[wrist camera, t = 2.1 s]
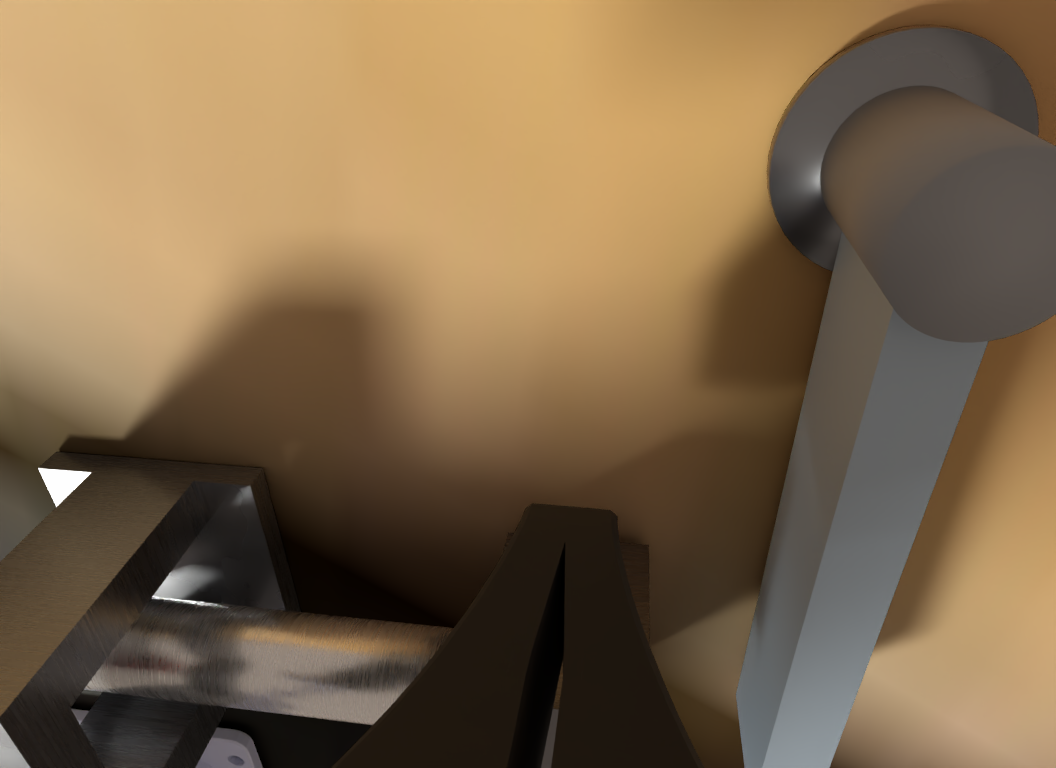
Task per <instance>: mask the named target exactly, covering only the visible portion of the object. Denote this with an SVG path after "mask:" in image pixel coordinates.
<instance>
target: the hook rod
mask: <svg viewBox="0 0 1056 768" xmlns="http://www.w3.org/2000/svg"><path fill="white" fill-rule="evenodd" d="M513 535H514V533H508V534H507V538H506V543H505V547H504V551H505V550H506V548H507V546H508V544H509V542H510V541H511V539H512V537H513ZM620 548H621V552H622V557H623V562H624V566H625V570H626V574H627V578H628V582H629V585H630V589H631V592H632V596H633V599H634V602H635V605H636V608H637V611H638V614H639V617H640V620H641V623H642V626H643V629H644V632H645V635H646V638H647V641H648V643H649V545H641V544H630V543H620ZM503 553H504V552H503ZM453 629H454V628H447V627H438V626H428V625H419V624H409V623H400V622H390V621H381V620H371V619H362V618H352V617H343V616H333V615H324V614H314V613H305V612H295V611H286V610H276V609H267V608H257V607H248V606H238V605H229V604H219V603H210V602H200V601H191V600H181V599H172V598H162V597H152V598H151V599H150V601H149V602H148V603H147V605H146V606H145V607H144V609H143V610H142V611H141V613H140V614H139V616H138V617H137V618H136V620H135V621H134V622H133V624H132V625H131V626H130V628H129V629H128V630H127V632H126V633H125V634H124V636H123V637H122V639H121V640H120V641H119V643H118V644H117V645H116V647H115V648H114V649H113V651H112V652H111V653H110V655H109V656H108V657H107V659H106V660H105V662H104V663H103V664H102V666H101V667H100V668H99V670H98V671H97V672H96V674H95V675H94V676H93V678H92V679H91V680H90V682H89V683H88V685H87V686H86V687H85V689H84V690H93V691H101V692H109V693H117V694H125V695H133V696H141V697H149V698H157V699H165V700H173V701H181V702H189V703H198V704H206V705H214V706H222V707H230V708H238V709H246V710H254V711H262V712H270V713H278V714H286V715H294V716H303V717H311V718H319V719H327V720H335V721H343V722H351V723H359V724H367V725H373V724H374V723H375V722H376V721H377V720H378V719H379V718H380V717H381V716H382V715H383V714H384V713H385V712H386V711H387V710H388V708H389V707H390V706H391V705H392V704H393V703H394V702H395V701H396V699H397V698H398V697H399V696H400V695H401V694H402V693H403V691H404V690H405V689H406V688H407V687H408V686H409V685H410V683H411V682H412V681H413V680H414V679H415V677H416V676H417V675H418V674H419V673H420V672H421V670H422V669H423V668H424V667H425V665H426V664H427V663H428V662H429V660H430V659H431V658H432V657H433V655H434V654H435V653H436V652H437V650H438V649H439V648H440V646H441V645H442V644H443V642H444V641H445V640H446V638H447V637H448V635H449V634H450V633H451V631H452V630H453ZM562 680H563V661H562V666H561V671H560V676H559V681H558V686H557V691H556V696H555V701H554V706H553V711H552V716H551V721H550V726H549V731H548V736H547V741H546V746H545V751H544V756H543V761H542V765H541V768H551V764H552V757H553V749H554V742H555V734H556V727H557V719H558V711H559V703H560V696H561V688H562Z"/></svg>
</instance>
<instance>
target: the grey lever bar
mask: <svg viewBox="0 0 1056 768" xmlns="http://www.w3.org/2000/svg"><path fill="white" fill-rule="evenodd" d="M820 186H821V193H822V196H823V200H824V202H825V205H826V207H827V209H828V210H829V212H830V213H831V215H832V216H833V218H834V220H835V221H836V223H837V224H838V226H839V227H840V229H841V230H842V234H841V238H840V242H839V247H838V251H837V256H836V260H835V264H834V269H833V273H832V277H831V282H830V286H829V291H828V295H827V299H826V304H825V308H824V312H823V317H822V321H821V325H820V330H819V334H818V339H817V343H816V347H815V352H814V356H813V360H812V365H811V369H810V374H809V378H808V382H807V387H806V391H805V395H804V400H803V404H802V408H801V413H800V417H799V422H798V426H797V430H796V435H795V439H794V443H793V448H792V452H791V456H790V461H789V465H788V470H787V474H786V478H785V483H784V487H783V491H782V496H781V500H780V505H779V509H778V513H777V518H776V522H775V526H774V531H773V535H772V539H771V544H770V548H769V553H768V557H767V561H766V566H765V570H764V574H763V579H762V583H761V588H760V592H759V596H758V601H757V605H756V609H755V614H754V618H753V622H752V627H751V631H750V636H749V640H748V644H747V649H746V653H745V657H744V662H743V666H742V671H741V675H740V679H739V684H738V688H737V692H736V699H737V707H738V715H739V724H740V732H741V740H742V749H743V757H744V765H745V768H829V767H830V764H831V762H832V759H833V756H834V754H835V751H836V748H837V746H838V743H839V740H840V738H841V735H842V732H843V730H844V727H845V724H846V721H847V719H848V716H849V713H850V711H851V708H852V705H853V703H854V700H855V697H856V695H857V692H858V689H859V687H860V684H861V681H862V679H863V676H864V673H865V671H866V668H867V665H868V663H869V660H870V657H871V655H872V652H873V649H874V647H875V644H876V641H877V638H878V636H879V633H880V630H881V628H882V625H883V622H884V620H885V617H886V614H887V612H888V609H889V606H890V604H891V601H892V598H893V596H894V593H895V590H896V588H897V585H898V582H899V580H900V577H901V574H902V572H903V569H904V566H905V564H906V561H907V558H908V556H909V553H910V550H911V547H912V545H913V542H914V539H915V537H916V534H917V531H918V529H919V526H920V523H921V521H922V518H923V515H924V513H925V510H926V507H927V505H928V502H929V499H930V497H931V494H932V491H933V489H934V486H935V483H936V481H937V478H938V475H939V473H940V470H941V467H942V464H943V462H944V459H945V456H946V454H947V451H948V448H949V446H950V443H951V440H952V438H953V435H954V432H955V430H956V427H957V424H958V422H959V419H960V416H961V414H962V411H963V408H964V406H965V403H966V400H967V398H968V395H969V392H970V390H971V387H972V384H973V382H974V379H975V376H976V373H977V371H978V368H979V365H980V363H981V360H982V357H983V355H984V352H985V349H986V347H987V344H988V341H992V340H996V339H1001V338H1005V337H1008V336H1012V335H1015V334H1018V333H1020V332H1023V331H1025V330H1028V329H1030V328H1032V327H1034V326H1036V325H1038V324H1040V323H1042V322H1044V321H1046V320H1047V319H1049V318H1050V317H1052V316H1053V315H1055V314H1056V146H1054V145H1053V144H1051V143H1049V142H1047V141H1045V140H1043V139H1041V138H1039V137H1037V136H1035V135H1033V134H1031V133H1030V132H1028V131H1026V130H1024V129H1022V128H1020V127H1018V126H1016V125H1014V124H1012V123H1010V122H1008V121H1007V120H1005V119H1003V118H1001V117H999V116H997V115H995V114H993V113H991V112H989V111H987V110H986V109H984V108H982V107H980V106H978V105H976V104H974V103H972V102H970V101H968V100H966V99H964V98H963V97H961V96H959V95H957V94H955V93H953V92H951V91H948V90H945V89H943V88H938V87H934V86H923V85H920V86H908V87H902V88H898V89H894V90H891V91H888V92H886V93H883V94H881V95H879V96H876V97H875V98H873V99H871V100H869V101H868V102H866V103H865V104H863V105H862V106H861V107H859V108H858V109H856V110H855V111H854V112H853V113H852V114H851V115H850V116H849V117H848V118H847V119H846V120H845V121H844V122H843V123H842V124H841V126H840V127H839V128H838V130H837V131H836V132H835V134H834V135H833V137H832V139H831V141H830V142H829V144H828V147H827V149H826V151H825V154H824V157H823V161H822V164H821V172H820Z"/></svg>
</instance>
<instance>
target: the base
mask: <svg viewBox="0 0 1056 768" xmlns="http://www.w3.org/2000/svg"><path fill="white" fill-rule="evenodd" d="M920 85H923V86H934V87H938V88H943V89H945V90H948V91H951V92H953V93H955V94H957V95H959V96H961V97H963V98H964V99H966V100H968V101H970V102H972V103H974V104H976V105H978V106H980V107H982V108H984V109H986V110H987V111H989V112H991V113H993V114H995V115H997V116H999V117H1001V118H1003V119H1005V120H1007V121H1008V122H1010V123H1012V124H1014V125H1016V126H1018V127H1020V128H1022V129H1024V130H1026V131H1028V132H1030V133H1031V134H1033V135H1035V136H1037V137H1038V112H1037V105H1036V100H1035V97H1034V94H1033V91H1032V88H1031V85H1030V83H1029V82H1028V80H1027V78H1026V76H1025V74H1024V72H1023V71H1022V70H1021V68H1020V67H1019V66H1018V65H1017V63H1016V62H1015V61H1014V60H1013V58H1011V57H1010V56H1009V55H1008V54H1007V53H1006V52H1005V51H1003V50H1002V49H1001V48H1000V47H998V46H996V45H995V44H993V43H991V42H990V41H988V40H986V39H984V38H982V37H979V36H977V35H974V34H971V33H969V32H965V31H962V30H958V29H954V28H949V27H944V26H930V25H922V26H908V27H903V28H898V29H893V30H888V31H885V32H882V33H879V34H876V35H873V36H870V37H868V38H866V39H864V40H862V41H860V42H857V43H855V44H853V45H852V46H850V47H848V48H847V49H845V50H843V51H842V52H840V53H838V54H837V55H835V56H834V57H833V58H832V59H830V60H829V61H828V62H826V63H825V64H824V65H822V66H821V67H820V68H819V69H818V70H817V71H816V72H815V73H814V74H813V75H812V76H811V77H810V78H809V79H808V80H807V81H806V82H805V83H804V84H803V86H802V87H801V88H800V89H799V90H798V92H797V93H796V94H795V96H794V97H793V99H792V100H791V102H790V103H789V105H788V106H787V108H786V109H785V111H784V113H783V115H782V117H781V119H780V121H779V123H778V125H777V128H776V131H775V134H774V136H773V139H772V142H771V147H770V151H769V155H768V165H767V187H768V193H769V198H770V202H771V205H772V208H773V211H774V214H775V216H776V218H777V221H778V223H779V224H780V226H781V228H782V230H783V232H784V234H785V235H786V236H787V238H788V239H789V241H790V242H791V243H792V245H793V246H795V247H796V248H797V249H798V250H799V251H800V252H801V253H802V254H803V255H804V256H805V257H807V258H808V259H810V260H811V261H812V262H814V263H816V264H817V265H819V266H821V267H823V268H825V269H827V270H830V271H833V269H834V264H835V260H836V256H837V251H838V247H839V242H840V238H841V234H842V230H841V229H840V227H839V226H838V224H837V223H836V221H835V220H834V218H833V216H832V215H831V213H830V212H829V210H828V209H827V207H826V205H825V202H824V200H823V196H822V193H821V186H820V172H821V164H822V161H823V157H824V154H825V151H826V149H827V147H828V144H829V142H830V141H831V139H832V137H833V135H834V134H835V132H836V131H837V130H838V128H839V127H840V126H841V124H842V123H843V122H844V121H845V120H846V119H847V118H848V117H849V116H850V115H851V114H852V113H853V112H854V111H855V110H856V109H858V108H859V107H861V106H862V105H863V104H865V103H866V102H868V101H869V100H871V99H873V98H875V97H876V96H879V95H881V94H883V93H886V92H888V91H891V90H894V89H898V88H902V87H908V86H920Z"/></svg>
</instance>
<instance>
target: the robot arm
mask: <svg viewBox="0 0 1056 768" xmlns="http://www.w3.org/2000/svg"><path fill="white" fill-rule="evenodd" d="M562 661H563V680H562V688H561V696H560V703H559V711H558V719H557V727H556V734H555V742H554V749H553V757H552V764H551V768H704V766H703V764H702V762H701V760H700V758H699V756H698V754H697V753H696V751H695V749H694V747H693V745H692V743H691V740H690V738H689V736H688V734H687V732H686V730H685V728H684V726H683V724H682V722H681V720H680V718H679V715H678V713H677V711H676V709H675V707H674V704H673V702H672V700H671V698H670V695H669V693H668V691H667V688H666V686H665V684H664V681H663V679H662V676H661V674H660V671H659V669H658V666H657V664H656V661H655V659H654V656H653V654H652V651H651V649H650V646H649V643H648V641H647V638H646V635H645V632H644V629H643V626H642V623H641V620H640V617H639V614H638V611H637V608H636V605H635V602H634V599H633V596H632V592H631V589H630V585H629V582H628V578H627V574H626V570H625V566H624V562H623V557H622V552H621V548H620V541H619V534H618V523H617V516H616V515H615V514H614V513H613V512H612V511H611V510H604V509H592V508H581V507H569V506H557V505H545V504H534V503H533V504H531V505H530V506H528V507H527V508H526V509H525V511H524V514H523V516H522V518H521V521H520V523H519V525H518V527H517V529H516V531H515V533H514V535H513V537H512V539H511V541H510V542H509V544H508V546H507V548H506V550H505V551H504V553H503V555H502V556H501V558H500V560H499V562H498V563H497V565H496V567H495V568H494V570H493V571H492V573H491V575H490V576H489V578H488V579H487V581H486V582H485V584H484V585H483V587H482V588H481V590H480V592H479V593H478V595H477V596H476V598H475V599H474V601H473V602H472V604H471V605H470V607H469V608H468V610H467V611H466V612H465V614H464V615H463V617H462V618H461V619H460V621H459V622H458V623H457V625H456V626H455V627H454V629H453V630H452V631H451V633H450V634H449V635H448V637H447V638H446V640H445V641H444V642H443V644H442V645H441V646H440V648H439V649H438V650H437V652H436V653H435V654H434V655H433V657H432V658H431V659H430V660H429V662H428V663H427V664H426V665H425V667H424V668H423V669H422V670H421V672H420V673H419V674H418V675H417V676H416V677H415V679H414V680H413V681H412V682H411V683H410V685H409V686H408V687H407V688H406V689H405V690H404V691H403V693H402V694H401V695H400V696H399V697H398V698H397V699H396V701H395V702H394V703H393V704H392V705H391V706H390V707H389V708H388V710H387V711H386V712H385V713H384V714H383V715H382V716H381V717H380V718H379V719H378V720H377V721H376V722H375V723H374V724H373V725H372V726H371V727H370V729H369V730H368V731H367V732H366V733H365V734H364V735H363V736H362V737H361V738H360V739H359V740H358V741H357V742H356V743H355V744H354V745H353V746H352V747H351V748H350V749H349V750H348V751H347V752H346V753H345V754H344V755H343V756H342V757H341V758H340V759H339V760H338V761H337V762H336V763H335V764H334V765H333V766H332V767H331V768H541V765H542V761H543V756H544V751H545V746H546V741H547V736H548V731H549V726H550V721H551V716H552V711H553V706H554V701H555V696H556V691H557V686H558V681H559V676H560V671H561V666H562ZM71 710H72V712H73V713H74V715H75V717H76V719H77V720H78V722H79V724H80V723H81V722H82V721H83V719H84V718H85V716H86V715H87V714H88V712H89V711H86V710H78V709H71ZM196 768H263V767H262V764H261V761H260V758H259V756H258V753H257V750H256V748H255V745H254V742H253V740H252V739H251V737H250V736H249V735H247V734H246V733H244V732H242V731H239V730H235V729H227V728H219V727H217V728H216V730H215V732H214V734H213V736H212V738H211V740H210V742H209V743H208V745H207V747H206V749H205V751H204V753H203V755H202V756H201V758H200V760H199V762H198V764H197V766H196Z"/></svg>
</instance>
